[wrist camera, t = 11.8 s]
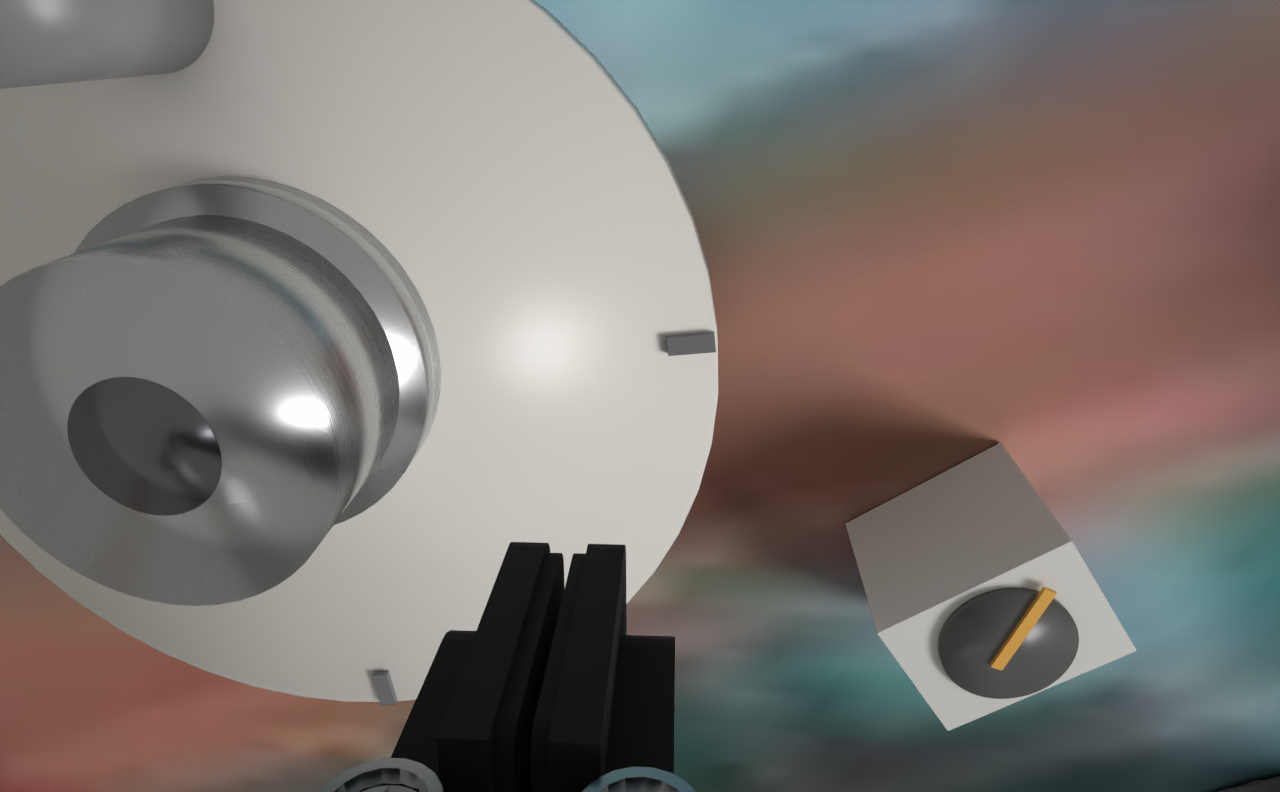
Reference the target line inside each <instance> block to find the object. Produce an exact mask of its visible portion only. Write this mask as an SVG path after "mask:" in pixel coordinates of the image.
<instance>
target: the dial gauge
mask: <svg viewBox="0 0 1280 792" xmlns="http://www.w3.org/2000/svg"><path fill="white" fill-rule="evenodd" d="M845 524H846V528H847V531H848V535H849V538H850V542H851V545H852V548H853V552H854V555H855V559H856V562H857V566H858V569H859V572H860V576H861V579H862V583H863V586H864V590H865V593H866V596H867V600H868V603H869V607H870V610H871V614H872V617H873V620H874V624H875V627H876V631H877V634H878V635H879V636H880V638H881V639H882V641H883V642H884V643H885V645H886V646H887V648H888V649H889V650H890V652H891V653H892V654H893V656H894V657H895V659H896V660H897V661H898V663H899V664H900V666H901V667H902V668H903V670H904V671H905V672H906V674H907V675H908V677H909V678H910V679H911V681H912V682H913V684H914V685H915V686H916V688H917V689H918V690H919V692H920V693H921V695H922V696H923V697H924V699H925V700H926V702H927V703H928V704H929V706H930V707H931V708H932V710H933V711H934V713H935V714H936V715H937V717H938V718H939V720H940V721H941V722H942V724H943V725H944V726H945V728H946V729H947V731H950V730H952V729H954V728H957V727H959V726H961V725H964V724H966V723H968V722H971V721H973V720H975V719H978V718H980V717H982V716H985V715H987V714H989V713H992V712H994V711H997V710H999V709H1001V708H1004V707H1006V706H1008V705H1011V704H1013V703H1015V702H1018V701H1020V700H1022V699H1025V698H1027V697H1029V696H1032V695H1034V694H1036V693H1039V692H1041V691H1043V690H1046V689H1048V688H1050V687H1053V686H1055V685H1057V684H1060V683H1062V682H1064V681H1067V680H1069V679H1072V678H1074V677H1076V676H1079V675H1081V674H1083V673H1086V672H1088V671H1090V670H1093V669H1095V668H1097V667H1100V666H1102V665H1104V664H1107V663H1109V662H1111V661H1114V660H1116V659H1118V658H1121V657H1123V656H1125V655H1128V654H1130V653H1132V652H1135V651H1137V650H1136V649H1135V647H1134V645H1133V644H1132V642H1131V640H1130V638H1129V637H1128V635H1127V633H1126V632H1125V630H1124V628H1123V627H1122V625H1121V623H1120V622H1119V620H1118V618H1117V617H1116V615H1115V613H1114V611H1113V610H1112V608H1111V606H1110V605H1109V603H1108V601H1107V600H1106V598H1105V596H1104V595H1103V593H1102V591H1101V590H1100V588H1099V586H1098V584H1097V583H1096V581H1095V579H1094V578H1093V576H1092V574H1091V573H1090V571H1089V569H1088V568H1087V566H1086V564H1085V563H1084V561H1083V559H1082V557H1081V556H1080V554H1079V552H1078V551H1077V549H1076V547H1075V546H1074V544H1073V542H1072V541H1071V539H1070V538H1069V536H1068V535H1067V534H1066V532H1065V531H1064V530H1063V528H1062V527H1061V525H1060V524H1059V523H1058V521H1057V520H1056V518H1055V517H1054V516H1053V514H1052V513H1051V512H1050V510H1049V509H1048V507H1047V506H1046V505H1045V503H1044V502H1043V500H1042V499H1041V498H1040V496H1039V495H1038V493H1037V492H1036V491H1035V489H1034V488H1033V487H1032V485H1031V484H1030V482H1029V481H1028V480H1027V478H1026V477H1025V475H1024V474H1023V473H1022V471H1021V470H1020V469H1019V467H1018V466H1017V464H1016V463H1015V462H1014V460H1013V459H1012V457H1011V456H1010V455H1009V453H1008V452H1007V450H1006V449H1005V448H1004V446H1003V445H1002V444H1001V443H999V444H997V445H995V446H993V447H991V448H989V449H987V450H985V451H983V452H981V453H980V454H978V455H976V456H974V457H972V458H970V459H968V460H966V461H964V462H962V463H960V464H958V465H957V466H955V467H953V468H951V469H949V470H947V471H945V472H943V473H941V474H939V475H937V476H936V477H934V478H932V479H930V480H928V481H926V482H924V483H922V484H920V485H918V486H916V487H914V488H913V489H911V490H909V491H907V492H905V493H903V494H901V495H899V496H897V497H895V498H893V499H891V500H890V501H888V502H886V503H884V504H882V505H880V506H878V507H876V508H874V509H872V510H870V511H868V512H867V513H865V514H863V515H861V516H859V517H857V518H855V519H853V520H851V521H849V522H847V523H845Z"/></svg>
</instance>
